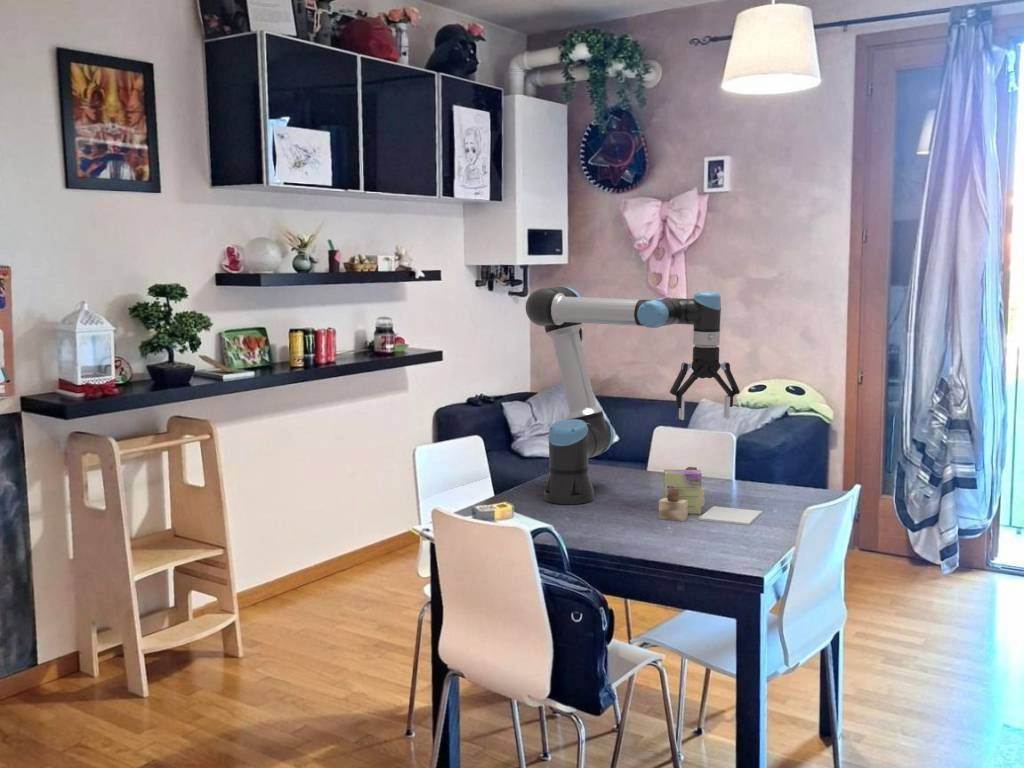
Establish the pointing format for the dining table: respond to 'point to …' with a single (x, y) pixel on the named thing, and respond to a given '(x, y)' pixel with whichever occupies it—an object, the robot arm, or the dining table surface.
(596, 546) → the dining table surface
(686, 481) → the box
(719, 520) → the pad
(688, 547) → the dining table surface
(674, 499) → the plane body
